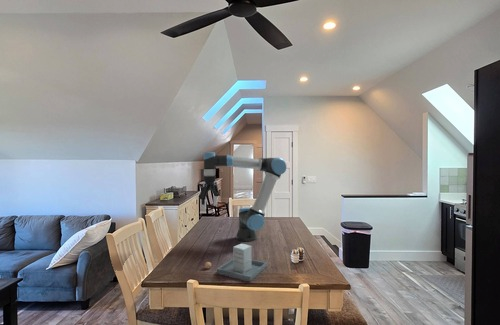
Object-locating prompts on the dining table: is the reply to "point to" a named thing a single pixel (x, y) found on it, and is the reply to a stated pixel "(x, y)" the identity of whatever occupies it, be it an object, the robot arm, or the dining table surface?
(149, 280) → the dining table surface
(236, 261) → the supplement box
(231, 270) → the tray
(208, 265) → the mixing ball
